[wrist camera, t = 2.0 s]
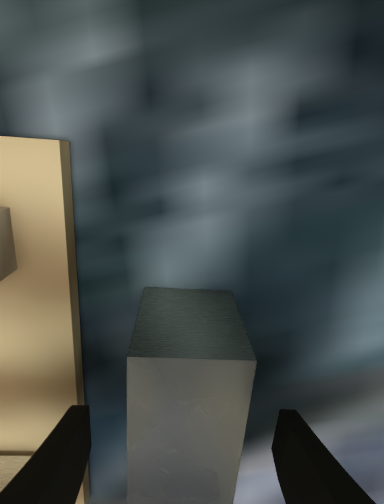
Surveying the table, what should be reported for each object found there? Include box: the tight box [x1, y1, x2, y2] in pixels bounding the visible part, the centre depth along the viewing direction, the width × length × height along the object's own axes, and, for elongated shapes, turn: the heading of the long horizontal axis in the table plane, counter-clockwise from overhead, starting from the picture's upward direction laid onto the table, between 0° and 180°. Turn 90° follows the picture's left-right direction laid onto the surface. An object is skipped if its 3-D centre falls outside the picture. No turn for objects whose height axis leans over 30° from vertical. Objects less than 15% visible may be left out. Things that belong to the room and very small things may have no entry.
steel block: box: [127, 287, 257, 504], centre depth 13 cm, size 8×4×5 cm, turn 176°
